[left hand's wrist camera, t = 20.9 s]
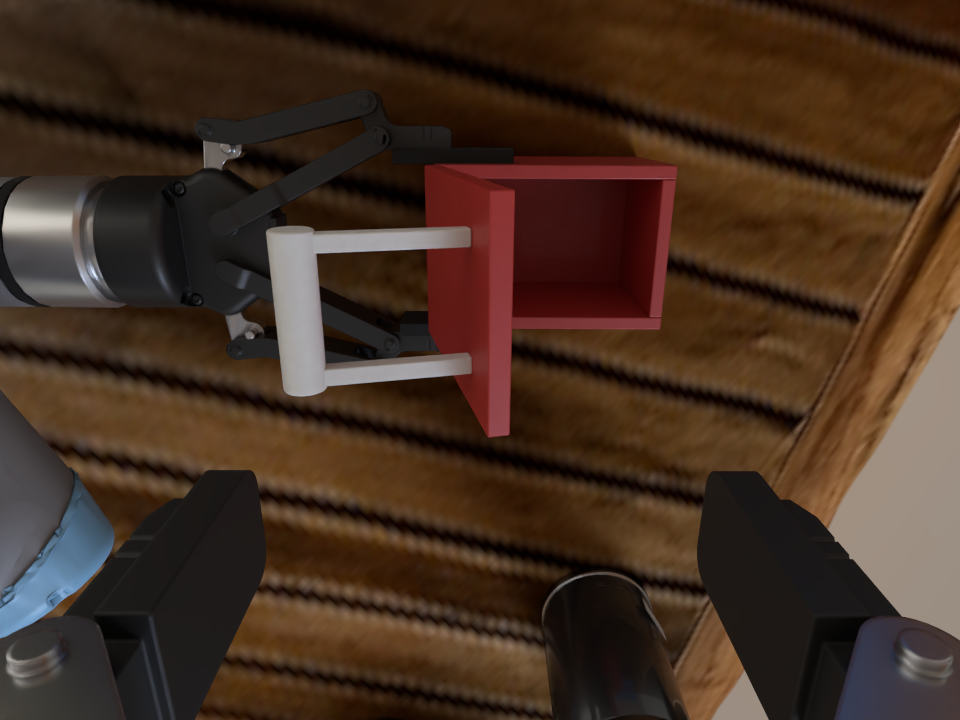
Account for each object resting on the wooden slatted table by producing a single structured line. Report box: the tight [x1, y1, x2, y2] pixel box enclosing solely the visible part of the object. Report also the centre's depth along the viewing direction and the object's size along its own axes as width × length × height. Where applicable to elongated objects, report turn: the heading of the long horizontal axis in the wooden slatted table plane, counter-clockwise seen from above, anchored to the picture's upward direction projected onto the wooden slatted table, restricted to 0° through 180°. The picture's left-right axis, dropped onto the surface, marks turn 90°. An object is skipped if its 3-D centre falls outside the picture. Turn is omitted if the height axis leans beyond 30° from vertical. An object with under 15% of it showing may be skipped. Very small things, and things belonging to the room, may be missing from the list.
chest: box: [434, 156, 677, 329], centre depth 39 cm, size 13×9×9 cm
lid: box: [266, 165, 515, 437], centre depth 28 cm, size 13×9×8 cm
